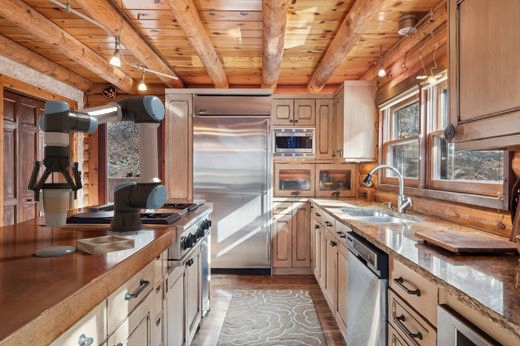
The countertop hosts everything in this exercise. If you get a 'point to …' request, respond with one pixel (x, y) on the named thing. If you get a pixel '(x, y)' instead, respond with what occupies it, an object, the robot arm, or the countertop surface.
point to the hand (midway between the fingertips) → (56, 210)
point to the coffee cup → (55, 203)
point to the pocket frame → (104, 244)
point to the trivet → (55, 251)
